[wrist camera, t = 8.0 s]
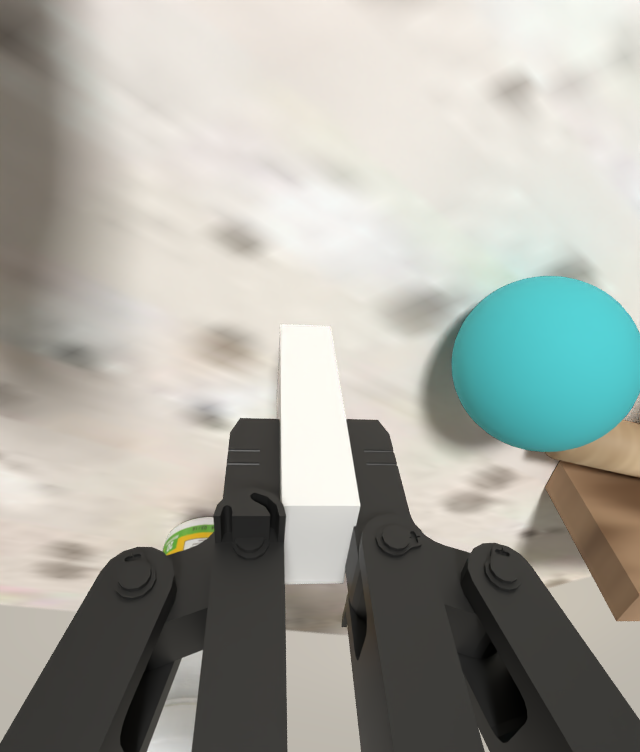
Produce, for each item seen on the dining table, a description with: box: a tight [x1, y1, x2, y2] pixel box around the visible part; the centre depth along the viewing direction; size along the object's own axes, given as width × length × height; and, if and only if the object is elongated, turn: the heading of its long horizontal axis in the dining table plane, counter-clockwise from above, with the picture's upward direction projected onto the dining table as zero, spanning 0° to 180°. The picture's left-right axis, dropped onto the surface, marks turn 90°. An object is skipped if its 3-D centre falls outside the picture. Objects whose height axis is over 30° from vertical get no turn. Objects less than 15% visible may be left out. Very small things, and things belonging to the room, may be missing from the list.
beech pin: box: [545, 420, 640, 478], centre depth 22 cm, size 2×2×8 cm
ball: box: [452, 276, 640, 452], centre depth 17 cm, size 6×6×6 cm
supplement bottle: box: [147, 517, 214, 752], centre depth 23 cm, size 5×5×10 cm
